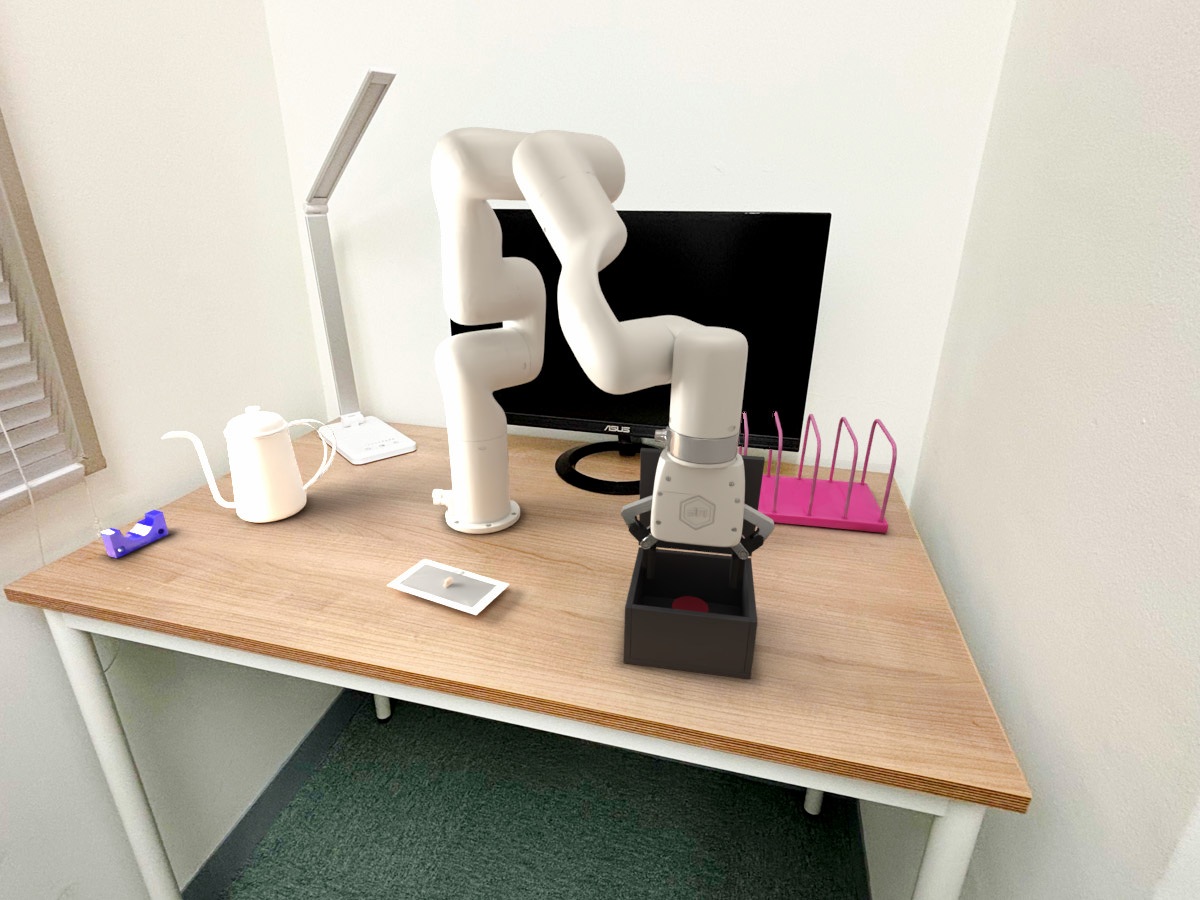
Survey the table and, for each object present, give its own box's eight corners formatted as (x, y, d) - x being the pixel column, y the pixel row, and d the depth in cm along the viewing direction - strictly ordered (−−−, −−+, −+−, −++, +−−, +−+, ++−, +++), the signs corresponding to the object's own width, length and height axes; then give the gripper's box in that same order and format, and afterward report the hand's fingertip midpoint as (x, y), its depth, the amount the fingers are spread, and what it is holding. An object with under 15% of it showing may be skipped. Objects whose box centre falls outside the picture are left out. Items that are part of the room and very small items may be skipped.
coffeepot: (180, 521, 103) (151, 414, 96) (332, 481, 119) (317, 387, 112) (193, 546, 96) (163, 433, 89) (353, 501, 111) (338, 401, 104)
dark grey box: (750, 679, 70) (757, 622, 67) (623, 663, 72) (624, 607, 69) (745, 608, 82) (751, 557, 80) (636, 596, 85) (638, 546, 82)
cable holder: (153, 530, 100) (147, 508, 99) (168, 534, 99) (162, 511, 98) (101, 553, 94) (93, 530, 92) (116, 558, 92) (109, 534, 91)
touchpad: (476, 622, 79) (475, 608, 78) (387, 592, 85) (385, 578, 84) (510, 590, 86) (509, 577, 85) (425, 564, 92) (423, 552, 91)
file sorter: (887, 535, 102) (905, 446, 96) (732, 520, 106) (741, 434, 100) (865, 491, 118) (879, 412, 112) (731, 479, 122) (739, 403, 116)
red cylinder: (669, 642, 75) (670, 615, 73) (671, 620, 79) (673, 594, 77) (705, 647, 74) (708, 619, 72) (706, 624, 78) (708, 597, 76)
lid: (764, 460, 72) (762, 437, 77) (640, 450, 74) (645, 429, 79) (751, 556, 79) (750, 530, 84) (638, 545, 81) (643, 520, 86)
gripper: (618, 449, 65) (614, 587, 71) (788, 463, 62) (768, 604, 69) (628, 426, 72) (623, 553, 78) (781, 437, 69) (763, 568, 75)
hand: (691, 577), depth 73 cm, fingers open, 9 cm apart
